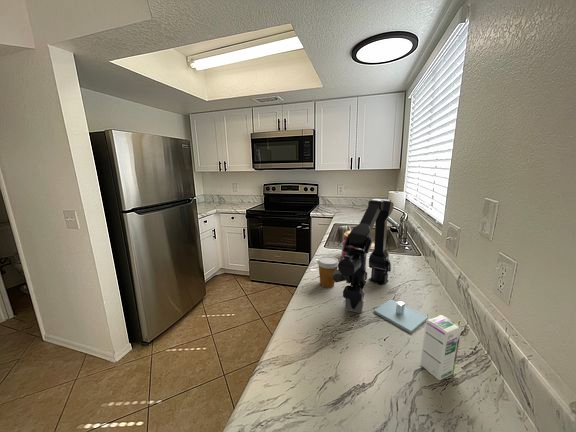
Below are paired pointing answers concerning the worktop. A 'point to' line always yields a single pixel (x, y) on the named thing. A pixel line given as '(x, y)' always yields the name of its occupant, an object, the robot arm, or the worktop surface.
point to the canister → (344, 243)
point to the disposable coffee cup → (327, 270)
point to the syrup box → (440, 346)
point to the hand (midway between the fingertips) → (354, 303)
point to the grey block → (358, 307)
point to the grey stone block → (400, 308)
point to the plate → (401, 316)
